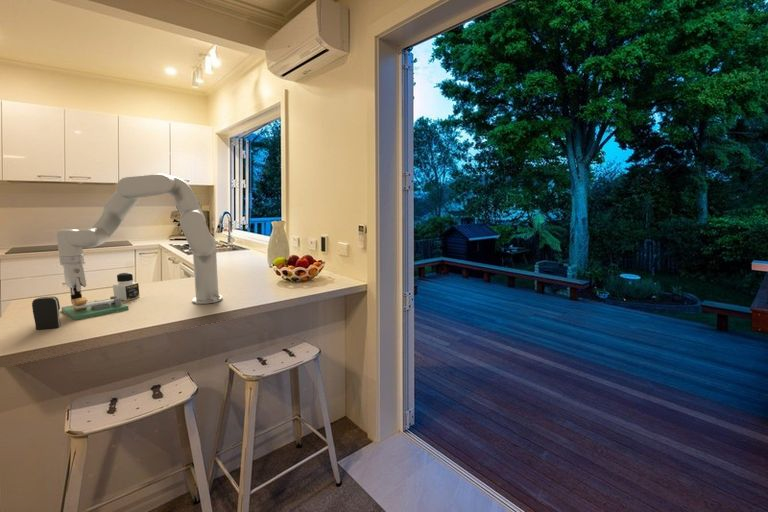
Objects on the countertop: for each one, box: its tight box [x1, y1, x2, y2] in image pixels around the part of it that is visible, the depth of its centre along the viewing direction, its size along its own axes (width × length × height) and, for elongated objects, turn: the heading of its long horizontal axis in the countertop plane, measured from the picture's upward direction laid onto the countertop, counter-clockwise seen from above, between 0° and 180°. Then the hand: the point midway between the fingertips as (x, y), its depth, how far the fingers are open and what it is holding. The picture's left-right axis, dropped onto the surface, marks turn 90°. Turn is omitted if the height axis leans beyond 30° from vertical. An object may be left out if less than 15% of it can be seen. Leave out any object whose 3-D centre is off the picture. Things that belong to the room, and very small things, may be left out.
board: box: [60, 295, 129, 321], centre depth 156 cm, size 19×18×5 cm
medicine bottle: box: [112, 272, 140, 302], centre depth 173 cm, size 7×7×12 cm
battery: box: [31, 296, 61, 330], centre depth 135 cm, size 7×4×11 cm, turn 112°
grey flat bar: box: [75, 298, 116, 308], centre depth 154 cm, size 3×14×1 cm, turn 143°
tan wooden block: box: [71, 297, 89, 310], centre depth 150 cm, size 6×4×4 cm, turn 52°
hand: (77, 303), depth 154 cm, fingers closed
